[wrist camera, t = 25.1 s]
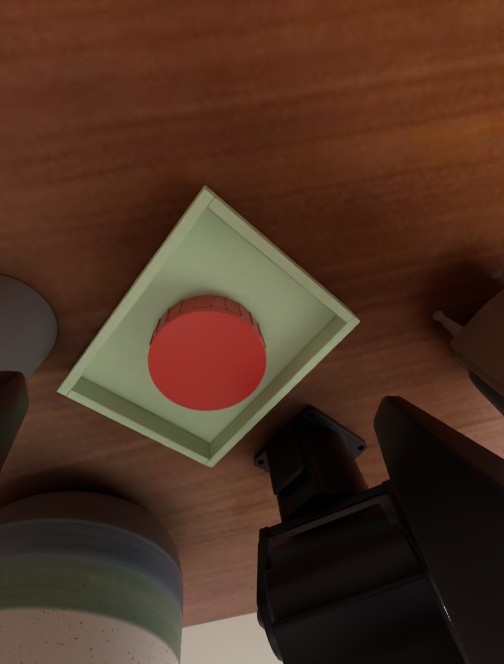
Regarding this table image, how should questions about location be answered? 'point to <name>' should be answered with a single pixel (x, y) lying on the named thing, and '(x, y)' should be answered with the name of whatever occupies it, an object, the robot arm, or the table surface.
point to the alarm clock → (482, 345)
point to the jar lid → (207, 353)
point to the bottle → (24, 327)
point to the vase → (87, 582)
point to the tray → (219, 280)
